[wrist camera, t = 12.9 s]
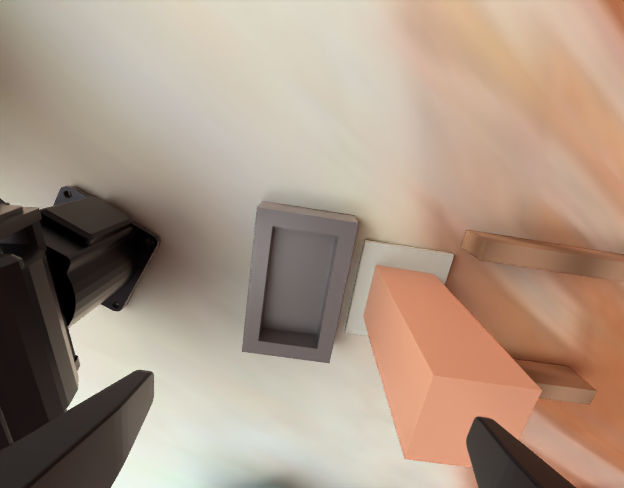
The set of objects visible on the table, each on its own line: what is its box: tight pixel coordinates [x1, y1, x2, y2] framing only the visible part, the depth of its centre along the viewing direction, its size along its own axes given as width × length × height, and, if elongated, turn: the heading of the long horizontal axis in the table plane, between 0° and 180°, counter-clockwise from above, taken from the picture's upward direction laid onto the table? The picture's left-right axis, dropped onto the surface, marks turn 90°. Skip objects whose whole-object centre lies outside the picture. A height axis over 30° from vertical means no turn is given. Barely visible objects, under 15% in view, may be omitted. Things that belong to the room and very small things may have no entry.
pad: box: [345, 240, 454, 336], centre depth 22 cm, size 6×7×1 cm
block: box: [363, 265, 542, 468], centre depth 17 cm, size 4×4×10 cm
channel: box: [461, 230, 624, 405], centre depth 21 cm, size 11×10×2 cm
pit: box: [242, 201, 359, 363], centre depth 21 cm, size 6×10×2 cm, turn 171°
